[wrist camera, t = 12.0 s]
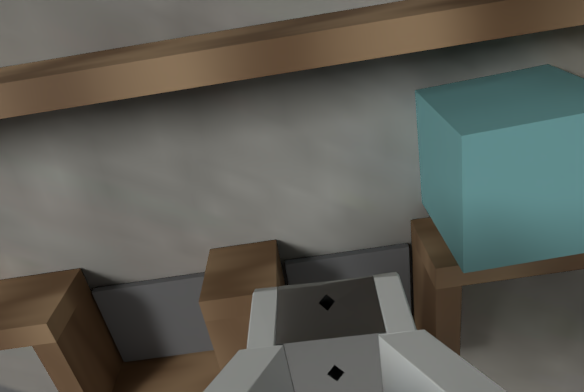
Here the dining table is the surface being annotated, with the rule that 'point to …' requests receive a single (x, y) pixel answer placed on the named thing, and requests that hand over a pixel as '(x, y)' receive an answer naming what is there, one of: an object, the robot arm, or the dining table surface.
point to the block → (505, 166)
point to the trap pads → (186, 292)
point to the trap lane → (255, 256)
